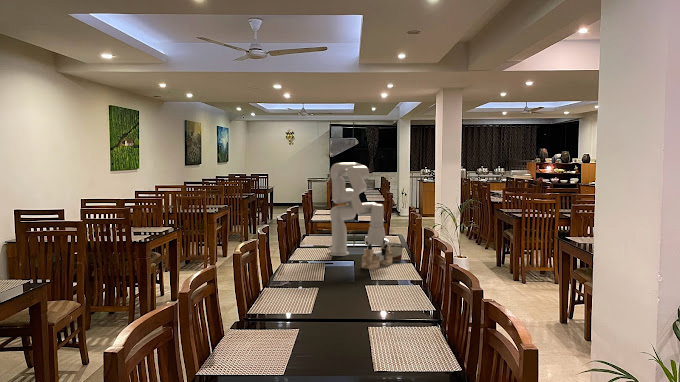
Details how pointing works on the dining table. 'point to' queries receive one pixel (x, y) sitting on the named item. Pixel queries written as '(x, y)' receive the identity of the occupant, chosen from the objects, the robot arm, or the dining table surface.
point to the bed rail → (379, 253)
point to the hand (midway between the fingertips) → (376, 254)
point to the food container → (396, 251)
